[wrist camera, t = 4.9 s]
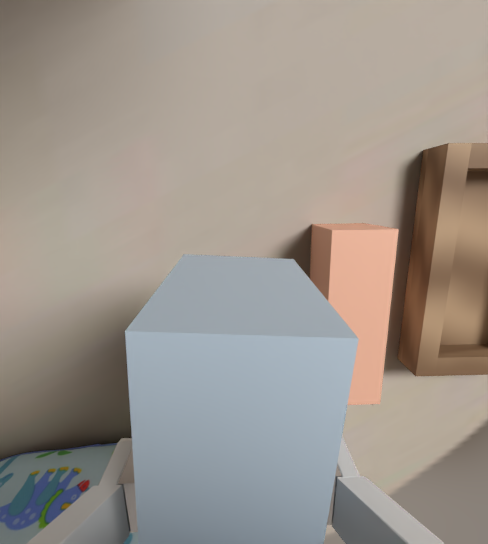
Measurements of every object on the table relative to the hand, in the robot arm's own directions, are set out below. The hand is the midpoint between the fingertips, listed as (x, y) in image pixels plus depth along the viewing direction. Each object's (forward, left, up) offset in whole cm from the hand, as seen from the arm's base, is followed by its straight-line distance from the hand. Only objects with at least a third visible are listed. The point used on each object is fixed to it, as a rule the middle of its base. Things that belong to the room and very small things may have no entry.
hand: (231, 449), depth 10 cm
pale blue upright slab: (0, 0, -3) cm, 3 cm away
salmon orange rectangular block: (0, +8, -14) cm, 16 cm away
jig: (-3, +18, -14) cm, 23 cm away
